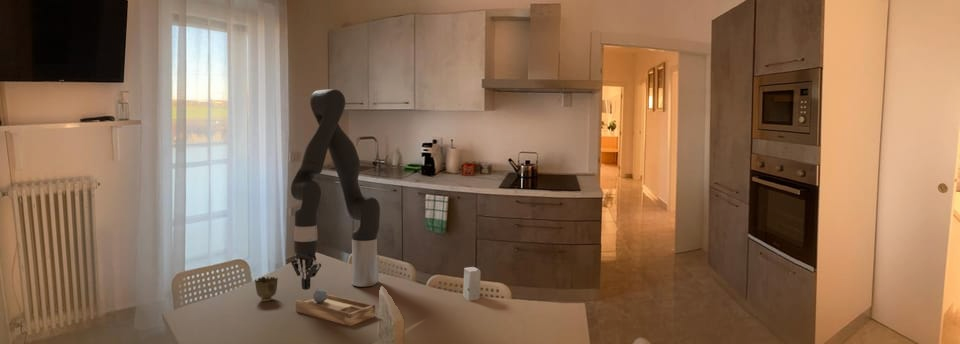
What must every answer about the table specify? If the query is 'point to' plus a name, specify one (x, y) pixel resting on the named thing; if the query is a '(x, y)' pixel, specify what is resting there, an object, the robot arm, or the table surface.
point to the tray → (337, 310)
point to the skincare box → (471, 283)
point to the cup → (266, 288)
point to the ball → (320, 296)
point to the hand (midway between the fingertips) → (305, 289)
